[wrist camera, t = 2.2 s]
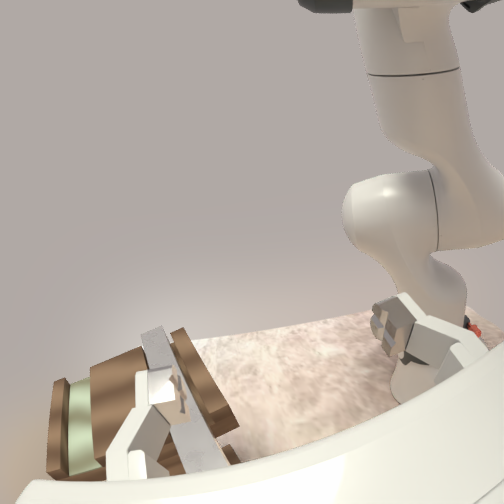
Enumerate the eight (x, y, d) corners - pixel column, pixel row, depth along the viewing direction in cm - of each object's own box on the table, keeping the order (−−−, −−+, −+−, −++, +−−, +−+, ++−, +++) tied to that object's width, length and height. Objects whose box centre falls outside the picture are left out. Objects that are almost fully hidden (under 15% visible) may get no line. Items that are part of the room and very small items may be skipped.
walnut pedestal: (285, 506, 35) (228, 404, 25) (169, 553, 29) (46, 472, 19) (242, 443, 49) (183, 327, 39) (145, 483, 43) (54, 381, 33)
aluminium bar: (257, 509, 16) (245, 495, 15) (220, 525, 15) (204, 513, 14) (170, 343, 39) (161, 325, 38) (150, 352, 38) (140, 334, 37)
